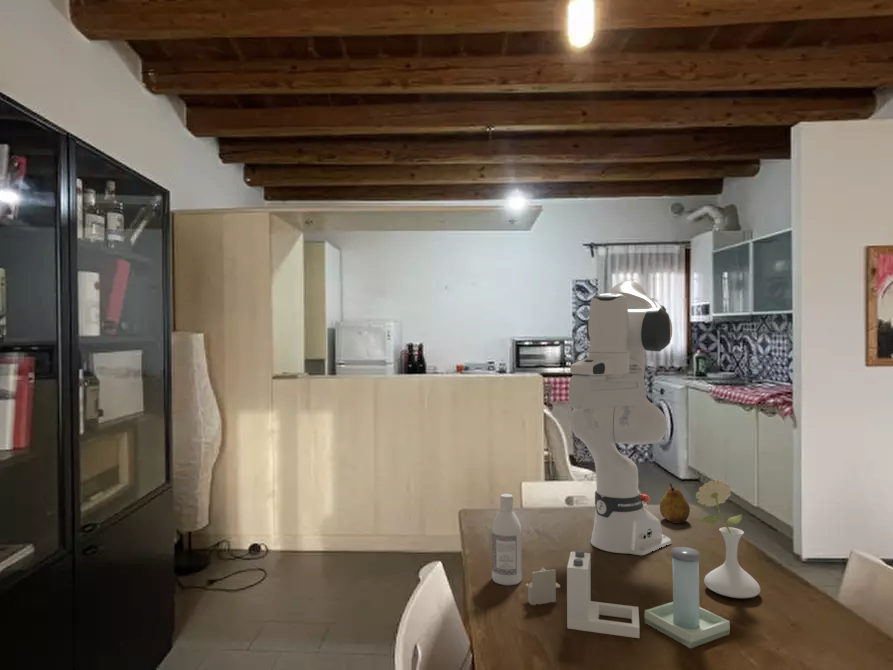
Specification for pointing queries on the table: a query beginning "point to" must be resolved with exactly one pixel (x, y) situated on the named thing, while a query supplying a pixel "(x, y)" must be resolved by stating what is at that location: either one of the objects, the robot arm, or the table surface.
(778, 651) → the table surface
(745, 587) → the flower in vase
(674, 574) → the cylinder
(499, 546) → the bath foam
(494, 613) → the table surface
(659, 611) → the tray
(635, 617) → the base
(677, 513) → the fruit
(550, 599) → the architectural model
